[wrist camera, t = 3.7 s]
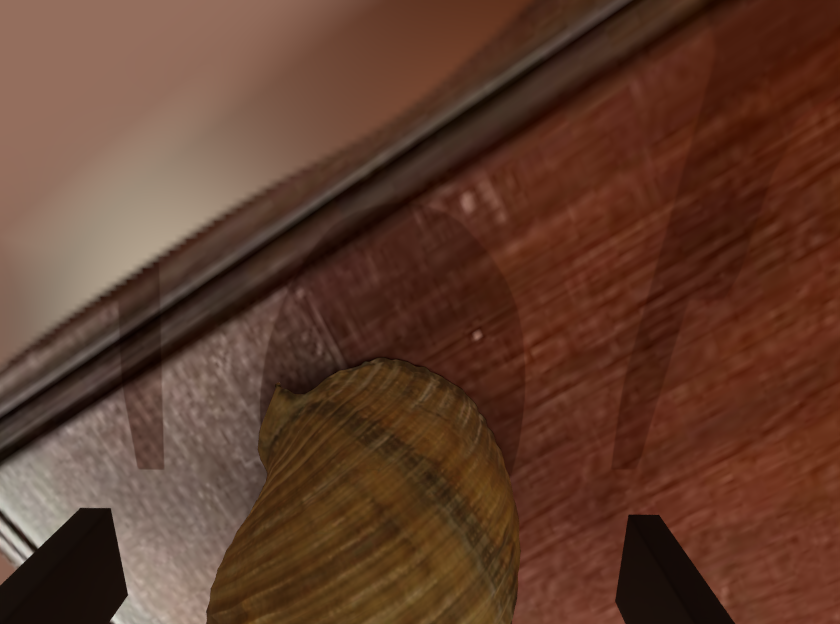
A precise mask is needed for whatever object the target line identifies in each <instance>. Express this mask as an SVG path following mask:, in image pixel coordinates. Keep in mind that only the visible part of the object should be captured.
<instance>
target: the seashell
mask: <svg viewBox="0 0 840 624" xmlns="http://www.w3.org/2000/svg"><path fill="white" fill-rule="evenodd" d="M277 385H278V386H277ZM275 387H276V389H275V392H274V394H273V397H272V399H271V402H270V404H269V407H268V410H267V412H266V415H265V418H264V420H263V423H262V426H261V429H260V432H259V442H258V452H259V455H260V459H261V461H262V463H263V465H264V467H265V469H266V471H267V479H266V483H265V485H264V487H263V489H262V491H261V493H260V495H259V497H258V500H257V501H256V502H255V504H254V506H253V508H252V510H251V512H250V514H249V516H248V517H247V518H246V520H245V521H244V523H243V524H242V525H241V527H240V528H239V530H238V531H237V533H236V535H235V537H234V539H233V542H232V544H231V545H230V546H229V548H228V549H227V550H226V553H225V555H224V558H223V561H222V563H221V564H220V566H219V568H218V570H217V574H216V578H215V581H214V583H213V585H212V587H211V593H210V602H209V605H208V608H207V611H206V613H207V623H206V624H512V618H513V614H514V609H515V605H516V600H517V592H518V571H519V563H520V552H521V551H520V542H519V518H518V513H517V508H516V505H515V501H514V499H513V491H512V486H511V482H510V478H509V475H508V473H507V471H506V468H505V464H504V459H503V455H502V452H501V449H500V448H499V447H498V446H497V445H496V441H495V437H494V434H493V432H492V431H491V430H490V429H489V428H488V427H487V424H486V419H485V418H484V417H483V416H482V415H481V414H480V413H479V412H478V409H477V405H476V404H475V403H474V402H473V401H472V400H471V399H470V398H469V397H468V396H467V395H466V394H465V392H464V391H463V390H462V389H460V388H459V387H457V386H456V385H454V384H452V383H451V382H448V381H447V380H446V379H444V378H443V377H441V376H439V375H437V374H435V373H432V372H430V371H429V370H428V369H427V368H426V367H415V366H413V365H412V364H410V363H408V362H406V361H400V360H397V359H395V360H389V359H387V358H376V359H375V360H373V361H371V362H364V363H363V364H362V365H361V366H358V367H354V368H350V369H346V370H340V371H338V372H337V373H335V374H333V375H331V376H329V377H328V378H326V379H325V380H324V381H323V382H322V383H321V384H320V385H318V386H317V387H316V388H315V389H313V390H311V391H310V392H308V393H306V394H294V393H292V392H290V391H289V390H287V389H284V388H282V387H281V386H280V383H279V382H278V383H277V384H275Z"/></svg>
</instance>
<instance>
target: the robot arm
mask: <svg viewBox="0 0 840 624" xmlns="http://www.w3.org/2000/svg"><path fill="white" fill-rule="evenodd" d="M127 596H128V592H127V587H126V582H125V577H124V572H123V567H122V562H121V557H120V552H119V547H118V542H117V537H116V532H115V527H114V522H113V517H112V512H111V508H80V509H79V510H78V511H77V512H76V513H75V514H74V515H73V516H72V517H71V518H70V519H69V520H68V521H67V522H66V523H65V524H64V525H62V526H61V527H60V528H59V529H58V530H57V531H56V532H55V533H54V534H53V535H52V536H51V537H50V538H49V539H48V540H47V541H46V542H45V543H44V544H43V545H42V546H41V547H40V548H39V549H38V550H37V551H36V552H35V553H33V554H32V555H31V556H30V557H29V558H28V559H27V560H26V561H25V562H24V563H23V564H22V565H21V566H20V567H19V568H18V569H17V570H16V571H15V572H14V573H13V574H12V575H11V576H10V577H9V578H8V579H7V580H6V581H4V582H3V584H2V585H0V624H108V623H109V621H110V620H111V618H112V617H113V616H114V614H115V613H116V611H117V610H118V609H119V607H120V606H121V604H122V603H123V602H124V600H125V599H126V597H127ZM615 602H616V604H617V606H618V608H619V611H620V613H621V615H622V617H623V619H624V622H625V624H735V623H734V622H733V620H732V619H731V617H730V616H729V614H728V613H727V612H726V610H725V609H724V607H723V606H722V604H721V603H720V602H719V600H718V599H717V597H716V596H715V594H714V593H713V592H712V590H711V589H710V587H709V586H708V584H707V583H706V581H705V580H704V579H703V577H702V576H701V574H700V573H699V571H698V570H697V569H696V567H695V566H694V564H693V563H692V561H691V560H690V559H689V557H688V556H687V554H686V553H685V551H684V550H683V549H682V547H681V546H680V544H679V543H678V541H677V540H676V539H675V537H674V536H673V534H672V533H671V531H670V530H669V529H668V527H667V526H666V524H665V523H664V521H663V520H662V519H661V517H660V516H659V515H629V516H628V522H627V528H626V535H625V541H624V548H623V554H622V561H621V567H620V574H619V580H618V587H617V593H616V599H615Z"/></svg>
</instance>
